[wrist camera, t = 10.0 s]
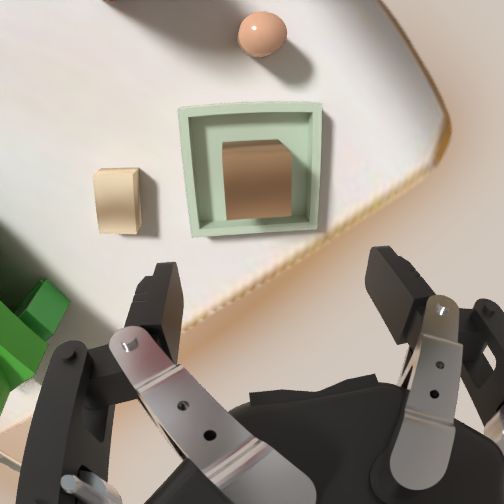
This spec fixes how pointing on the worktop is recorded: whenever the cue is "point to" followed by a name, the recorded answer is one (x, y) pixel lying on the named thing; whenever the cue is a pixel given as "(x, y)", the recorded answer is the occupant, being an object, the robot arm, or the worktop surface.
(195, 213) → the tray
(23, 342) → the tank
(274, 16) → the brown egg
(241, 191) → the walnut block
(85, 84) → the worktop surface
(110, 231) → the beech slab
